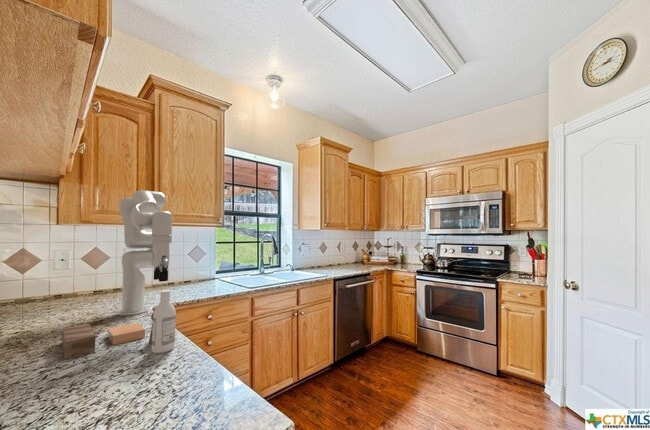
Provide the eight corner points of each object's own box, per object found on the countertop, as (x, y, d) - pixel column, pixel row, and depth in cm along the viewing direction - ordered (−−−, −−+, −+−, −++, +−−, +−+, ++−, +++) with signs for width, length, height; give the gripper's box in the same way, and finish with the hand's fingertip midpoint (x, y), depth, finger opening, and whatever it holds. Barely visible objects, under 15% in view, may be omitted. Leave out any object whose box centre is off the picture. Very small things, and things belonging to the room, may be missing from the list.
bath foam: (178, 345, 100) (180, 288, 102) (167, 353, 93) (170, 292, 95) (158, 345, 100) (161, 289, 101) (146, 353, 93) (149, 292, 94)
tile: (107, 337, 109) (108, 328, 110) (137, 331, 116) (138, 322, 117) (112, 345, 101) (113, 336, 101) (144, 338, 108) (145, 329, 108)
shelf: (61, 343, 103) (62, 328, 103) (88, 337, 108) (89, 323, 108) (64, 358, 89) (65, 341, 90) (94, 351, 95) (95, 335, 95)
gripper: (147, 240, 124) (146, 279, 123) (156, 239, 112) (155, 283, 110) (166, 240, 129) (165, 277, 128) (176, 239, 117) (175, 281, 115)
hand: (160, 280), depth 119 cm, fingers open, 9 cm apart
